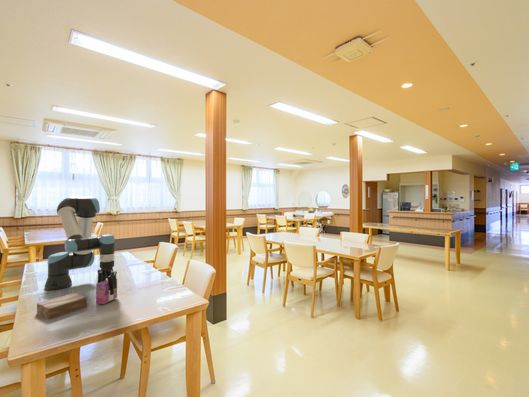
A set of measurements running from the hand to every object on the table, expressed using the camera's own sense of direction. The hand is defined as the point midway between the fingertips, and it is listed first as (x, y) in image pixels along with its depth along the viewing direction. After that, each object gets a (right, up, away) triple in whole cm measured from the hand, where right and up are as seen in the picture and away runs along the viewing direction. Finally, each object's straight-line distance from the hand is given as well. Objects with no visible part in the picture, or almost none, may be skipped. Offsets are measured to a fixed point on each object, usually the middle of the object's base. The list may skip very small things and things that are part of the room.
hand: (106, 298), depth 158 cm
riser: (-17, -2, -13) cm, 21 cm away
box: (0, -1, 0) cm, 1 cm away
